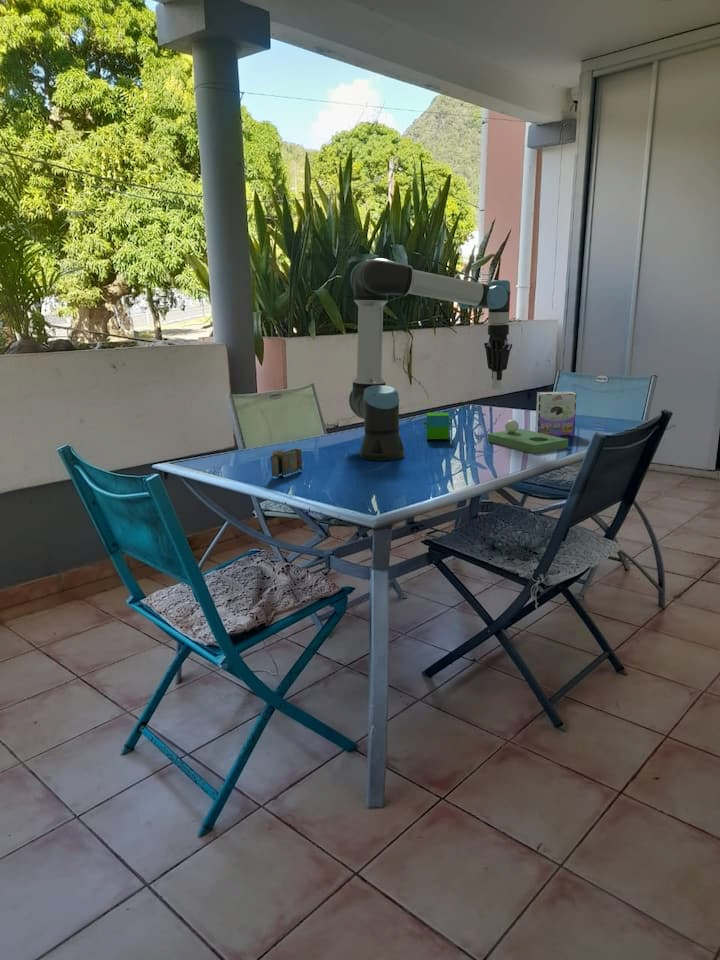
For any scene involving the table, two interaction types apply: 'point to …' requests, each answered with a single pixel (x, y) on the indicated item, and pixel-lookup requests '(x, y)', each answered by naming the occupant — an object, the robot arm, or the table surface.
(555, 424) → the candy box
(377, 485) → the table surface
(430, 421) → the green toy van
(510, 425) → the ball
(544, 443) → the putting mat
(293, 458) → the ruin model on sheet
